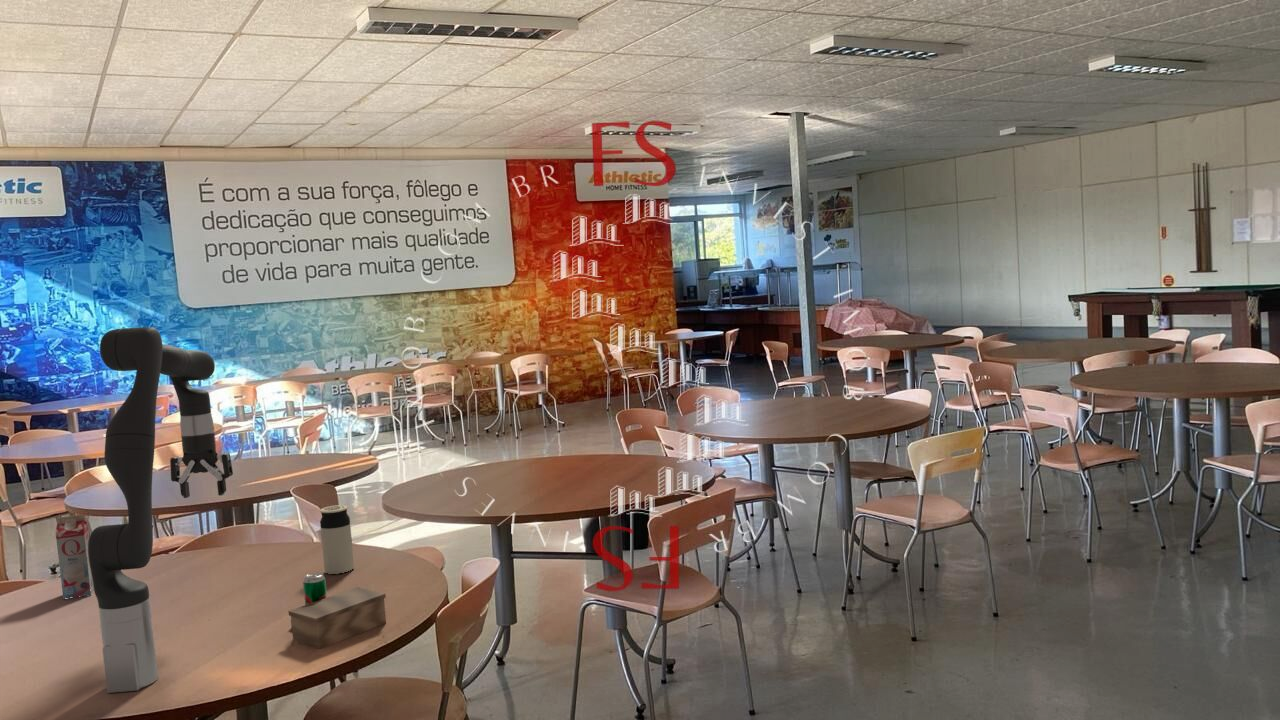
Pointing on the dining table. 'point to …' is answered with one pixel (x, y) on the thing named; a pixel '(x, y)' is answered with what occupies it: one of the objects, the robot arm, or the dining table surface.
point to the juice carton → (74, 556)
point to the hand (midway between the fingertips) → (204, 496)
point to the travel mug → (336, 539)
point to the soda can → (314, 588)
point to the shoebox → (338, 617)
